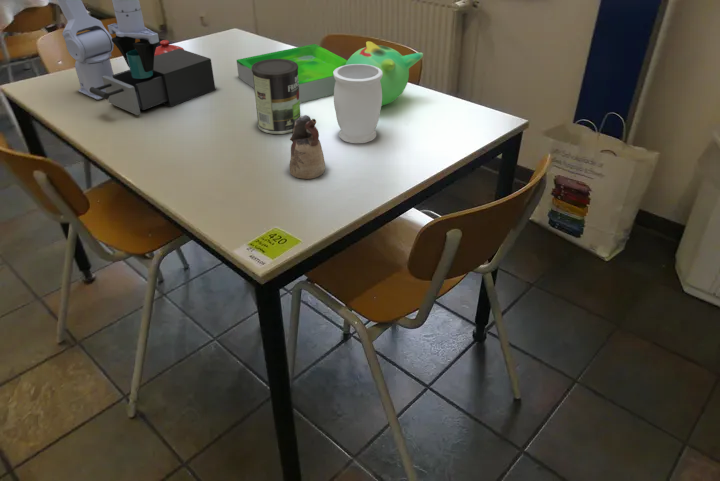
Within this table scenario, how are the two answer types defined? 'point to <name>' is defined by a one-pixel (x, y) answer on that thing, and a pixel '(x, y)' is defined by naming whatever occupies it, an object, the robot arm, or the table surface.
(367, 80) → the jar
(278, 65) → the coffee can
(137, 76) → the container
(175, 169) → the table surface
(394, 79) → the toy bird
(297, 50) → the tray
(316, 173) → the figurine
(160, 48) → the butter dish
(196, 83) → the dark grey storage box
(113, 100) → the drawer
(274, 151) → the table surface
